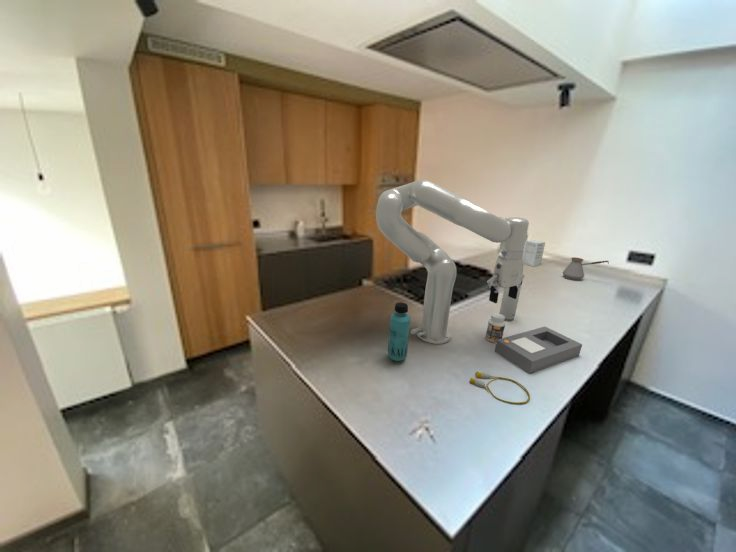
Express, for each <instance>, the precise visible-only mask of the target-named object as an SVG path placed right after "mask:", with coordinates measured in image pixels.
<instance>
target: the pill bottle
mask: <svg viewBox="0 0 736 552" xmlns="http://www.w3.org/2000/svg"><path fill="white" fill-rule="evenodd" d="M505 327H506V323H505V316H503V315H502V314H499V312H494V313H492V314H491V315H490V319H488V323H487V328H486V332H485V333H486V334H485V339H486V340H488V341H489V342H491V343H495V344H496V341H497V339H501V338H504V337H503V336H504V332H505Z"/></svg>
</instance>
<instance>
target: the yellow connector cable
mask: <svg viewBox="0 0 736 552" xmlns="http://www.w3.org/2000/svg"><path fill="white" fill-rule="evenodd" d="M491 378H493V379H491ZM481 379H482V380H485V379H486V380H487V379H491V380H490V381H488V382H487V384H486V383H485V382H484V381H482V380H481ZM497 380H507V381H510V382H512V383H514V384H516V385H517V386H519V387H520V388H521V389H522V390H523V391H524V392H525V393H526V395H527V396H528V398H527V400H525V401H522V402H519V401H518V402H514V401H510V400H509V401H508V400H505V399H504V400H503V399H501V398H499V397H497V396H496V395H495V394H494V393H493V392H492V390H491V389H490V388H489V384H490V383H492V382H493V381H497ZM469 384H472V385H474V386H476V387H479V388H484V389H485V391H486V392H487V393H488V394H491V395H492V397H494V398H495V399H496V400H498V401H500V402H504V403H507V404H510V405H514V406H521V405H525V404H526V403H528V402H529V401H530V400H531V394H530V392H529V391H528V389H527V387H525V386H524V385H522V384H521V383H519V382H518V381H517V380H514V379H512V378H508V377H503V376H493V375H491V374H489V373H485V372H479V371H476V372H475V378H472V377H470V379H469Z"/></svg>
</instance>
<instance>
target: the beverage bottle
mask: <svg viewBox="0 0 736 552" xmlns="http://www.w3.org/2000/svg"><path fill="white" fill-rule="evenodd" d="M408 310H409V305H408V304H407V303H405V302H397V303H395V305H394V312H393V313H392V314H391V315H390V322H389V323H390V324H389V333H388V343H387V356H388V357H389V358H390V360H392V361H397V362H398V361H404V360H405V359H406V358H407V355H408V348H409V347H408V346H409V341H410V340H409V336H410V335H409V334H410V324H411V316H410V315H409V313H408V312H409V311H408Z"/></svg>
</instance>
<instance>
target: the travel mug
mask: <svg viewBox="0 0 736 552" xmlns="http://www.w3.org/2000/svg"><path fill="white" fill-rule="evenodd" d="M522 285H523V282H522V283H521V284H520V288H519V289H518V293H517V298H516V299H513V298H511V297H509V296H508V293H509V288H510V287H507V288H503V293H502V298H501V301H500V302H501V303H500V309H499V312H498V314H502V315H503V316H505V320H504V322H505V321H506V322H513V321H514V320H515V318H516V317H515V316H516V312H517V308H518V305H519V304H518V303H519V298H520V294H521V290H522Z"/></svg>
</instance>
